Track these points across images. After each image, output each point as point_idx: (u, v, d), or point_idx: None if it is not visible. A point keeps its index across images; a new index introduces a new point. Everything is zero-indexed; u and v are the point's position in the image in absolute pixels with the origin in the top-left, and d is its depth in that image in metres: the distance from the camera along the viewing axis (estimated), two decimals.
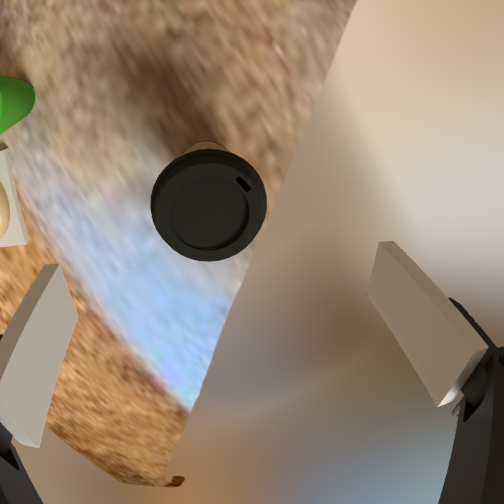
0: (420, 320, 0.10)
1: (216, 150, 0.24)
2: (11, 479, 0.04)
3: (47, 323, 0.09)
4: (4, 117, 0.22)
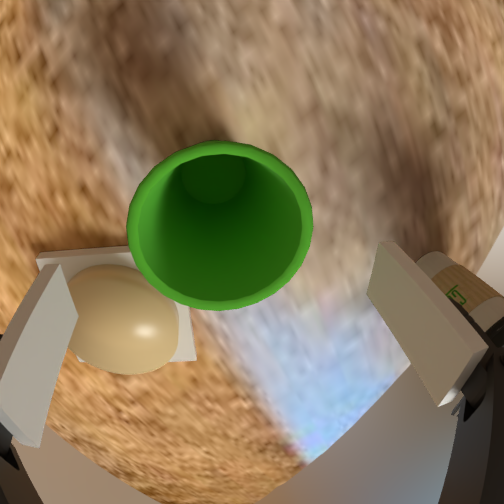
0: (420, 320, 0.10)
1: None
2: (11, 479, 0.04)
3: (47, 323, 0.09)
4: None
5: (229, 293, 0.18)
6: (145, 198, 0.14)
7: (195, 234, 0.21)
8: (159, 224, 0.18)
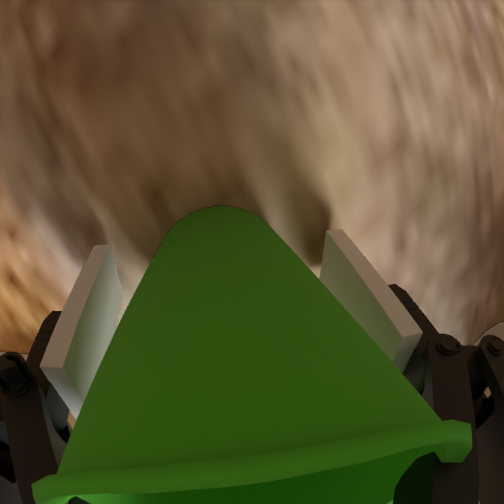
0: (358, 305, 0.11)
1: None
2: None
3: (102, 299, 0.11)
4: None
5: None
6: (62, 499, 0.03)
7: None
8: None
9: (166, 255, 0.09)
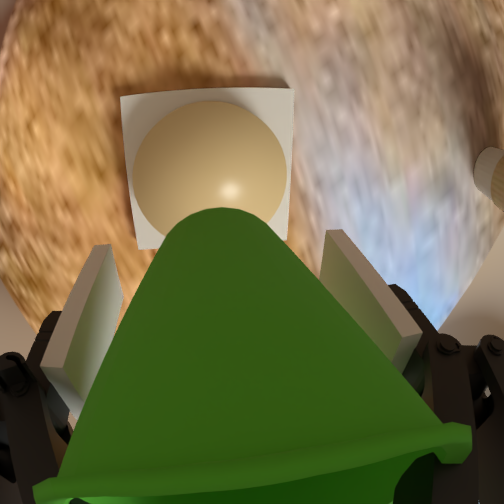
0: (358, 305, 0.11)
1: None
2: None
3: (102, 299, 0.11)
4: None
5: None
6: (63, 501, 0.03)
7: None
8: None
9: (166, 256, 0.09)
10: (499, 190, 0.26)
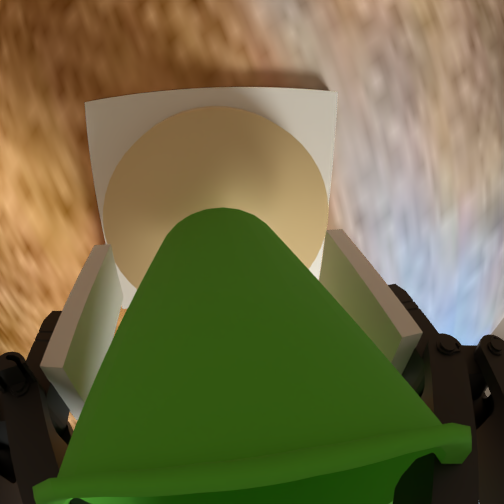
0: (358, 305, 0.11)
1: None
2: None
3: (102, 299, 0.11)
4: None
5: None
6: (63, 501, 0.03)
7: None
8: None
9: (166, 256, 0.09)
10: None
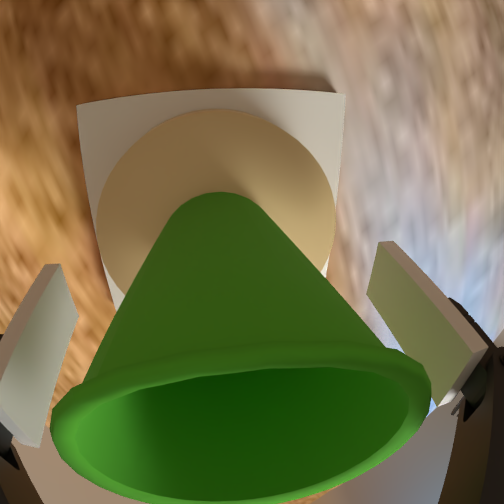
0: (420, 320, 0.10)
1: None
2: (11, 479, 0.04)
3: (47, 323, 0.09)
4: None
5: (256, 484, 0.09)
6: (76, 427, 0.05)
7: None
8: None
9: (170, 231, 0.10)
10: None
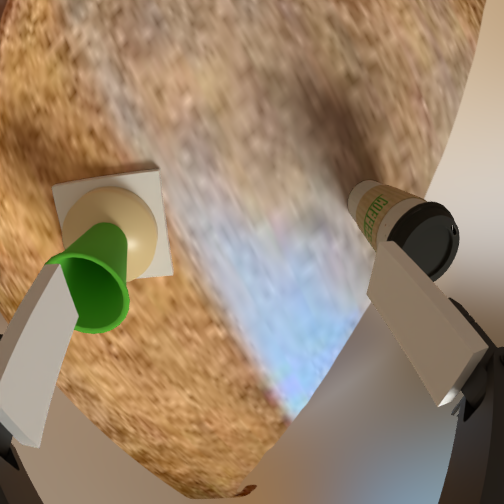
0: (420, 320, 0.10)
1: (436, 203, 0.28)
2: (11, 479, 0.04)
3: (47, 323, 0.09)
4: None
5: (98, 323, 0.28)
6: None
7: (90, 286, 0.32)
8: None
9: None
10: (360, 224, 0.37)
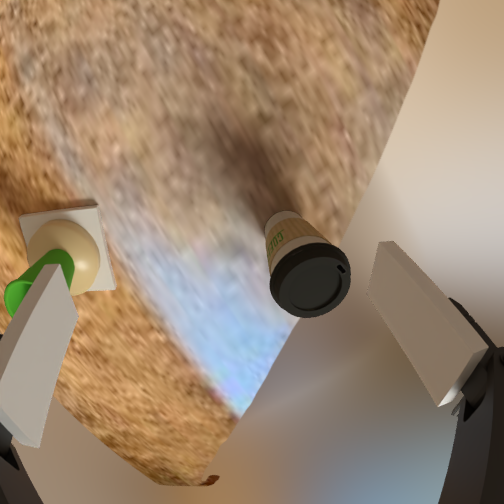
0: (420, 320, 0.10)
1: (322, 243, 0.34)
2: (11, 479, 0.04)
3: (47, 323, 0.09)
4: None
5: None
6: (7, 295, 0.30)
7: None
8: None
9: None
10: None
